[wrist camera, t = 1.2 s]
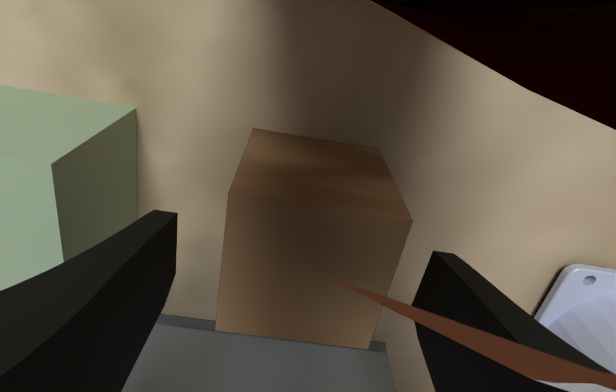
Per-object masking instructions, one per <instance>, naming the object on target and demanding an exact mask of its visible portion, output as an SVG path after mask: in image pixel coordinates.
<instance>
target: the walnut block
mask: <svg viewBox="0 0 616 392" xmlns="http://www.w3.org/2000/svg"><path fill="white" fill-rule="evenodd" d="M412 222H413V220H412V218H411V216H410V214H409V212H408V210H407V207H406V205H405V203H404V201H403V199H402V197H401V195H400V193H399V191H398V189H397V186H396V184H395V182H394V180H393V178H392V176H391V174H390V172H389V170H388V168H387V166H386V163H385V161H384V159H383V157H382V155H381V153H380V151H379V150H378V149H372V148H366V147H360V146H354V145H349V144H343V143H337V142H331V141H325V140H320V139H314V138H308V137H302V136H296V135H290V134H285V133H279V132H273V131H267V130H261V129H255V128H253V131H252V133H251V136H250V138H249V141H248V144H247V146H246V149H245V151H244V154H243V156H242V159H241V162H240V164H239V167H238V169H237V172H236V174H235V177H234V179H233V182H232V185H231V187H230V190H229V192H228V202H227V213H226V223H225V233H224V243H223V253H222V264H221V274H220V284H219V294H218V304H217V315H216V325H215V330H216V331H224V332H232V333H240V334H248V335H256V336H264V337H272V338H280V339H288V340H296V341H304V342H312V343H320V344H328V345H336V346H344V347H352V348H360V349H368V346H369V344H370V341H371V338H372V335H373V332H374V330H375V327H376V324H377V321H378V318H379V315H380V313H381V310H382V307H383V305H382V304H380V303H378V302H376V301H374V300H372V299H370V298H368V297H365V296H363V295H361V294H359V293H357V292H355V291H353V290H351V289H349V288H347V287H345V286H343V285H341V284H339V283H337V282H335V281H333V280H331V279H329V278H327V277H330V278H333V279H336V280H339V281H342V282H344V283H347V284H350V285H353V286H356V287H359V288H362V289H364V290H367V291H370V292H373V293H376V294H379V295H381V296H384V297H386V296H387V293H388V290H389V287H390V284H391V282H392V279H393V276H394V273H395V270H396V268H397V265H398V262H399V259H400V256H401V253H402V251H403V248H404V245H405V242H406V239H407V236H408V234H409V231H410V228H411V225H412ZM321 274H322V275H321ZM323 275H324V276H323ZM325 276H327V277H325Z"/></svg>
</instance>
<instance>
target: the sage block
mask: <svg viewBox="0 0 616 392" xmlns="http://www.w3.org/2000/svg"><path fill="white" fill-rule="evenodd" d="M137 220H138V186H137V139H136V108H134V107H128V106H122V105H116V104H110V103H104V102H99V101H93V100H87V99H81V98H75V97H70V96H64V95H58V94H52V93H46V92H41V91H35V90H29V89H23V88H17V87H11V86H6V85H0V291H1V290H3V289H6V288H8V287H11V286H13V285H16V284H18V283H20V282H22V281H25V280H27V279H29V278H32V277H34V276H36V275H39V274H41V273H43V272H45V271H47V270H49V269H51V268H53V267H55V266H57V265H59V264H61V263H63V262H65V261H67V260H69V259H71V258H73V257H75V256H76V255H78V254H80V253H82V252H84V251H86V250H88V249H89V248H91V247H93V246H95V245H97V244H99V243H100V242H102V241H104V240H105V239H107V238H109V237H110V236H112V235H114V234H115V233H117V232H119V231H120V230H122V229H124V228H125V227H127V226H129V225H130V224H132V223H133V222H135V221H137Z"/></svg>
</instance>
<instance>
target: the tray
mask: <svg viewBox="0 0 616 392" xmlns="http://www.w3.org/2000/svg"><path fill="white" fill-rule="evenodd" d="M215 325H216V321H209V320H201V319H194V318H186V317H178V316H170V315H162V314H160V315H159V317H158V319H157V321H156V323H155V325H154V327H153V329H152V331H151V333H150V335H149V337H148V339H147V341H146V343H145V345H144V347H143V349H142V351H141V353H140V355H139V357H138V359H137V361H136V363H135V365H134V367H133V369H132V371H131V373H130V375H129V377H128V379H127V381H126V383H125V385H124V387H123V390H122V392H396V391H395V387H394V382H393V378H392V374H391V369H390V365H389V360H388V356H387V352H386V347H385V343H381V342H373V341H370V344H369V346H368V349H360V348H352V347H344V346H336V345H328V344H320V343H312V342H304V341H296V340H288V339H280V338H272V337H264V336H256V335H248V334H240V333H232V332H224V331H216V330H215Z"/></svg>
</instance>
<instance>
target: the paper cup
mask: <svg viewBox="0 0 616 392" xmlns="http://www.w3.org/2000/svg"><path fill="white" fill-rule="evenodd" d="M369 1H371V2H373V3H375V4H376V5H378V6H380V7H382V8H383V9H385V10H387V11H389V12H391V13H392V14H394V15H396V16H398V17H400V18H401V19H403V20H405V21H407V22H408V23H410V24H412V25H414V26H416V27H417V28H419V29H421V30H423V31H424V32H426V33H428V34H430V35H432V36H433V37H435V38H437V39H439V40H441V41H442V42H444V43H446V44H448V45H449V46H451V47H453V48H455V49H457V50H458V51H460V52H462V53H464V54H465V55H467V56H469V57H471V58H473V59H474V60H476V61H478V62H480V63H481V64H483V65H485V66H487V67H489V68H490V69H492V70H494V71H496V72H498V73H499V74H501V75H503V76H505V77H506V78H508V79H510V80H512V81H514V82H515V83H517V84H519V85H521V86H522V87H524V88H526V89H528V90H530V91H532V92H534V93H537V94H539V95H541V96H543V97H545V98H548V99H550V100H552V101H554V102H556V103H558V104H561V105H563V106H565V107H567V108H569V109H572V110H574V111H576V112H578V113H580V114H582V115H585V116H587V117H589V118H591V119H593V120H596V121H598V122H600V123H602V124H604V125H606V126H609V127H611V128H613V129H615V130H616V0H369ZM321 275H322V274H321ZM323 276H324V275H323ZM325 277H327V276H325ZM327 278H329V279H331V280H333V281H335V282H337V283H339V284H341V285H343V286H345V287H347V288H349V289H351V290H353V291H355V292H357V293H359V294H361V295H363V296H365V297H368V298H370V299H372V300H374V301H376V302H378V303H380V304H382V305H384V306H386V307H388V308H390V309H392V310H394V311H396V312H398V313H400V314H402V315H404V316H406V317H408V318H410V319H412V320H414V321H416V322H418V323H420V324H422V325H424V326H426V327H428V328H430V329H432V330H434V331H436V332H438V333H440V334H442V335H444V336H446V337H448V338H450V339H452V340H454V341H456V342H458V343H460V344H462V345H464V346H466V347H468V348H470V349H472V350H474V351H476V352H478V353H480V354H482V355H484V356H486V357H488V358H490V359H492V360H494V361H496V362H499V363H501V364H503V365H505V366H507V367H509V368H511V369H513V370H515V371H517V372H519V373H521V374H523V375H525V376H527V377H529V378H531V379H533V380H536V381H539V382H542V383H545V384H548V385H551V386H554V387H557V388H560V389H563V390H566V391H569V392H616V375H614V374H609V373H604V372H599V371H595V370H592V369H589V368H587V367H584V366H581V365H578V364H575V363H572V362H569V361H567V360H564V359H561V358H558V357H555V356H552V355H550V354H547V353H544V352H541V351H538V350H535V349H532V348H530V347H527V346H524V345H521V344H518V343H515V342H512V341H510V340H507V339H504V338H501V337H498V336H495V335H493V334H490V333H487V332H484V331H481V330H478V329H475V328H473V327H470V326H467V325H464V324H461V323H458V322H456V321H453V320H450V319H447V318H444V317H441V316H438V315H436V314H433V313H430V312H427V311H424V310H421V309H418V308H416V307H413V306H410V305H407V304H404V303H401V302H399V301H396V300H393V299H390V298H387V297H384V296H381V295H379V294H376V293H373V292H370V291H367V290H364V289H362V288H359V287H356V286H353V285H350V284H347V283H344V282H342V281H339V280H336V279H333V278H330V277H327Z"/></svg>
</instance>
